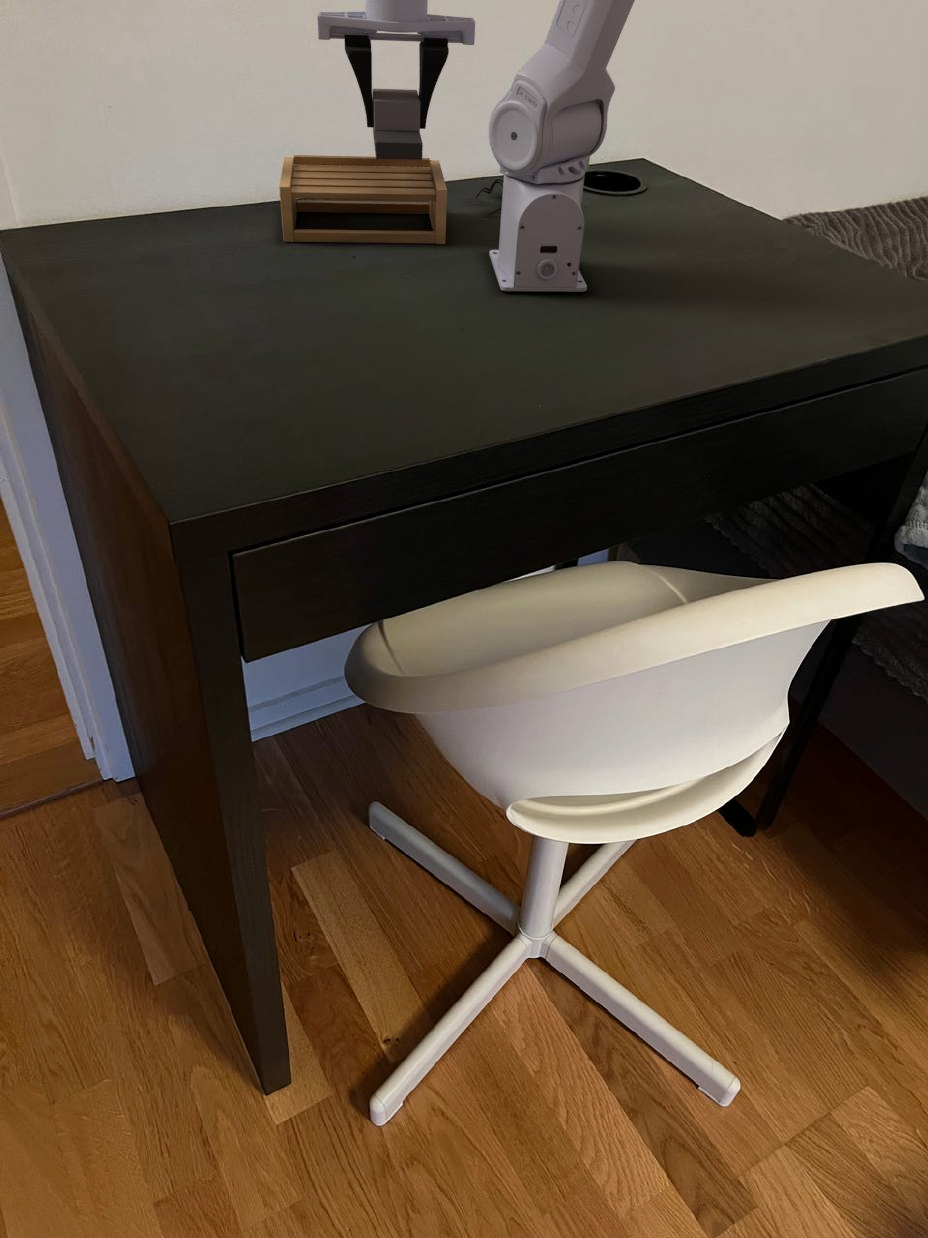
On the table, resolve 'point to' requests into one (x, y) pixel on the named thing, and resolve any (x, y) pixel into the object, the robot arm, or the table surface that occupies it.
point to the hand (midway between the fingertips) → (396, 125)
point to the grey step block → (397, 124)
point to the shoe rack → (362, 195)
